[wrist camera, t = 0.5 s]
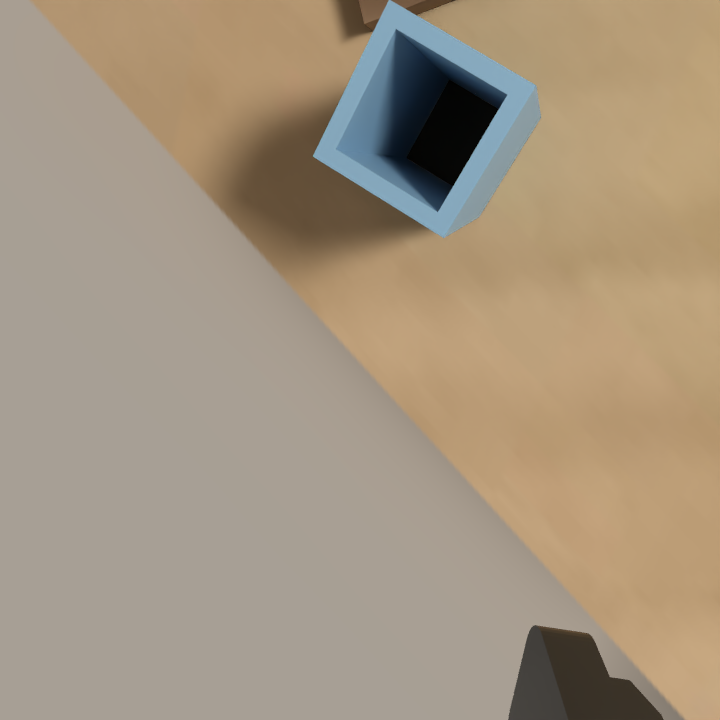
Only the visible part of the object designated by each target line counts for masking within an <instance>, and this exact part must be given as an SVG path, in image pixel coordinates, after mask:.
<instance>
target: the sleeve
mask: <svg viewBox="0 0 720 720" xmlns="http://www.w3.org/2000/svg"><path fill="white" fill-rule="evenodd" d="M449 80H451V81H452V82H454V83H456V84H457V85H459V86H461V87H462V88H464V89H466V90H467V91H469V92H471V93H472V94H474V95H476V96H477V97H479V98H481V99H483V100H484V101H486V102H488V103H489V104H491V105H493V106H494V107H496V108H498V109H499V110H498V112H497V113H496V115H495V117H494V118H493V120H492V122H491V123H490V125H489V127H488V128H487V130H486V132H485V134H484V135H483V137H482V139H481V140H480V142H479V144H478V145H477V147H476V149H475V150H474V152H473V154H472V155H471V157H470V159H469V161H468V162H467V164H466V166H465V167H464V169H463V171H462V172H461V174H460V176H459V177H458V179H457V181H456V182H455V184H454V186H452V185H450V184H448V183H447V182H445V181H443V180H442V179H440V178H438V177H437V176H435V175H434V174H432V173H430V172H429V171H427V170H425V169H424V168H422V167H421V166H419V165H417V164H416V163H414V162H412V161H411V160H409V159H407V156H408V154H409V152H410V150H411V148H412V147H413V145H414V143H415V141H416V139H417V138H418V136H419V134H420V132H421V130H422V128H423V127H424V125H425V123H426V121H427V119H428V118H429V116H430V114H431V112H432V110H433V108H434V107H435V105H436V103H437V101H438V99H439V98H440V96H441V94H442V92H443V90H444V88H445V87H446V85H447V83H448V81H449ZM540 118H541V114H540V107H539V101H538V94H537V87H536V85H534V84H533V83H531V82H529V81H528V80H526V79H524V78H522V77H521V76H519V75H517V74H516V73H514V72H512V71H511V70H509V69H507V68H505V67H504V66H502V65H500V64H499V63H497V62H495V61H493V60H492V59H490V58H488V57H487V56H485V55H483V54H481V53H480V52H478V51H476V50H475V49H473V48H471V47H470V46H468V45H466V44H464V43H463V42H461V41H459V40H458V39H456V38H454V37H452V36H451V35H449V34H447V33H446V32H444V31H442V30H441V29H439V28H437V27H435V26H434V25H432V24H430V23H429V22H427V21H425V20H423V19H422V18H420V17H418V16H417V15H415V14H413V13H411V12H410V11H408V10H406V9H405V8H403V7H401V6H400V5H398V4H396V3H394V2H393V1H391V0H389V1H388V3H387V5H386V7H385V9H384V11H383V13H382V15H381V17H380V19H379V21H378V23H377V25H376V27H375V29H374V32H373V34H372V36H371V38H370V40H369V42H368V44H367V46H366V48H365V50H364V52H363V54H362V56H361V58H360V60H359V62H358V64H357V66H356V69H355V71H354V73H353V75H352V77H351V79H350V81H349V83H348V85H347V87H346V89H345V91H344V93H343V95H342V97H341V99H340V101H339V103H338V106H337V108H336V110H335V112H334V114H333V116H332V118H331V120H330V122H329V124H328V126H327V128H326V130H325V132H324V134H323V136H322V138H321V141H320V143H319V145H318V147H317V149H316V151H315V153H314V155H313V157H314V158H316V159H318V160H319V161H321V162H322V163H324V164H326V165H327V166H329V167H330V168H332V169H334V170H335V171H337V172H338V173H340V174H342V175H343V176H345V177H347V178H348V179H350V180H351V181H353V182H355V183H356V184H358V185H359V186H361V187H363V188H364V189H366V190H367V191H369V192H371V193H372V194H374V195H375V196H377V197H379V198H380V199H382V200H383V201H385V202H387V203H388V204H390V205H392V206H393V207H395V208H396V209H398V210H400V211H401V212H403V213H404V214H406V215H408V216H409V217H411V218H412V219H414V220H416V221H417V222H419V223H420V224H422V225H424V226H425V227H427V228H428V229H430V230H432V231H433V232H435V233H437V234H438V235H440V236H441V237H443V238H445V237H446V236H448V235H450V234H451V233H453V232H455V231H456V230H458V229H460V228H461V227H463V226H465V225H467V224H468V223H470V222H472V221H473V220H475V219H477V218H478V217H479V216H480V215H481V213H482V211H483V210H484V208H485V207H486V205H487V203H488V202H489V200H490V199H491V197H492V195H493V194H494V192H495V191H496V189H497V187H498V186H499V184H500V183H501V181H502V179H503V178H504V176H505V175H506V173H507V171H508V170H509V168H510V166H511V165H512V163H513V162H514V160H515V158H516V157H517V155H518V154H519V152H520V150H521V149H522V147H523V146H524V144H525V142H526V141H527V139H528V138H529V136H530V134H531V133H532V131H533V130H534V128H535V126H536V125H537V123H538V122H539V120H540Z"/></svg>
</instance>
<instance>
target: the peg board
mask: <svg viewBox="0 0 720 720" xmlns="http://www.w3.org/2000/svg"><path fill="white" fill-rule="evenodd" d="M388 1H389V0H359V4H360V9H361V13H362V17H363V21H364V24H365V25H366V26H367V27H368V28H370V29H371V30H372V31H374V29H375V27H376V25H377V23H378V21H379V19H380V17H381V15H382V13H383V11H384V9H385V7H386V5H387V3H388ZM391 1H393V2H394V3H396V4H398V5H400V6H401V7H403V8H405V9H406V10H408V11H410V12H411V13H413V14H415V15H417V14H419V13H422V12H425V11H427V10H430V9H433V8H435V7H438V6H441V5H443V4H446V3H448V2H451V1H454V0H391Z"/></svg>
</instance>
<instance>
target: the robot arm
mask: <svg viewBox="0 0 720 720" xmlns="http://www.w3.org/2000/svg"><path fill="white" fill-rule="evenodd" d="M508 720H663V718H662V716H661V714H660V713H659V712H658V711H657V710H656V709H655V708H654V706H653V705H652V704H651V703H650V702H649V701H648V700H647V699H646V698H645V697H644V696H643V694H641V692H640V691H639V690H638V689H637V688H636V687H635V686H634V685H633V683H632V682H631V681H629V680H624V679H618V678H611V677H609V674H608V672H607V670H606V667H605V665H604V663H603V660H602V658H601V655H600V653H599V651H598V648H597V646H596V643H595V641H594V640H593V638H592V636H591V635H589V634H587V633H582V632H576V631H568V630H562V629H556V628H549V627H543V626H536V625H535V626H533V627H532V628H531V630H530V631H529V634H528V637H527V641H526V645H525V649H524V654H523V658H522V662H521V666H520V670H519V674H518V679H517V683H516V687H515V691H514V696H513V700H512V704H511V708H510V713H509V719H508Z"/></svg>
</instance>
